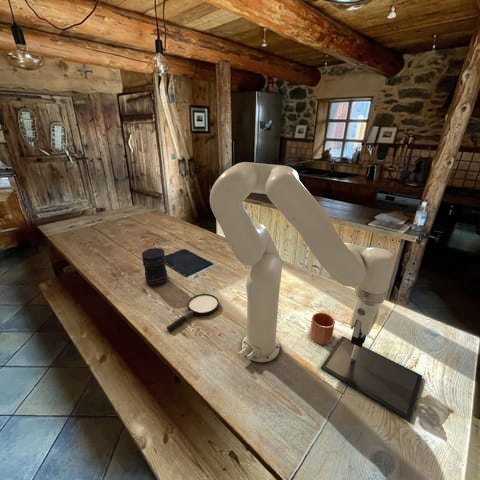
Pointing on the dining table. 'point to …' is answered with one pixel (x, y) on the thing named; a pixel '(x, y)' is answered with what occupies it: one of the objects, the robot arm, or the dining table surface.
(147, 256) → the storage jar
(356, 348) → the stylus
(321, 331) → the pen pot
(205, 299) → the magnifying glass
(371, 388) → the tablet
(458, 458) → the dining table surface
